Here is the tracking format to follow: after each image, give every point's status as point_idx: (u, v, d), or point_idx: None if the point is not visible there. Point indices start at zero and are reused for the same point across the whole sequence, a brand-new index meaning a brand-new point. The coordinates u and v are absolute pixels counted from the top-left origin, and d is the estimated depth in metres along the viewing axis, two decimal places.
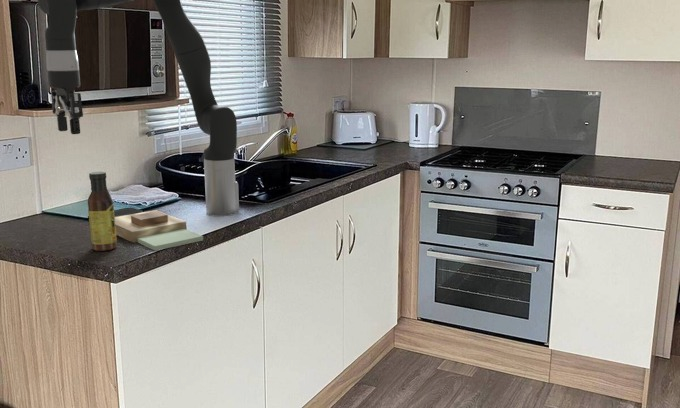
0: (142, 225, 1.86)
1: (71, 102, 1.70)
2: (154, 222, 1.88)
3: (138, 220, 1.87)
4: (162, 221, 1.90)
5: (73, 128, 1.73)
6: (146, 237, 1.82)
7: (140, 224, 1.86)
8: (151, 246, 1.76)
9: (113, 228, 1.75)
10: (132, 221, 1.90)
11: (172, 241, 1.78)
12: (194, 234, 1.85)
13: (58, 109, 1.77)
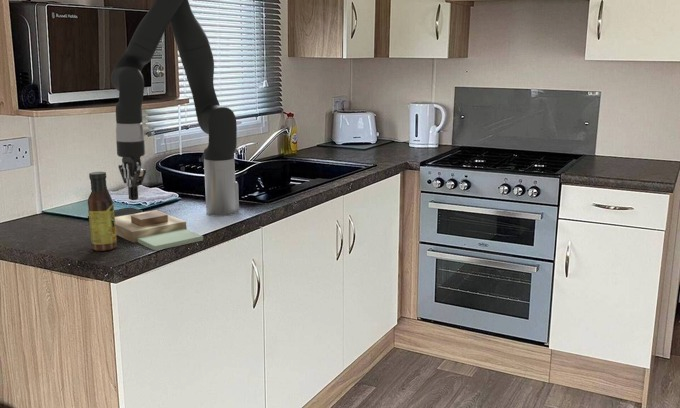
0: (142, 225, 1.86)
1: (135, 176, 1.90)
2: (154, 222, 1.88)
3: (138, 220, 1.87)
4: (162, 221, 1.90)
5: (132, 195, 1.94)
6: (146, 237, 1.82)
7: (140, 224, 1.86)
8: (151, 246, 1.76)
9: (113, 228, 1.75)
10: (132, 221, 1.90)
11: (172, 241, 1.78)
12: (194, 234, 1.85)
13: None
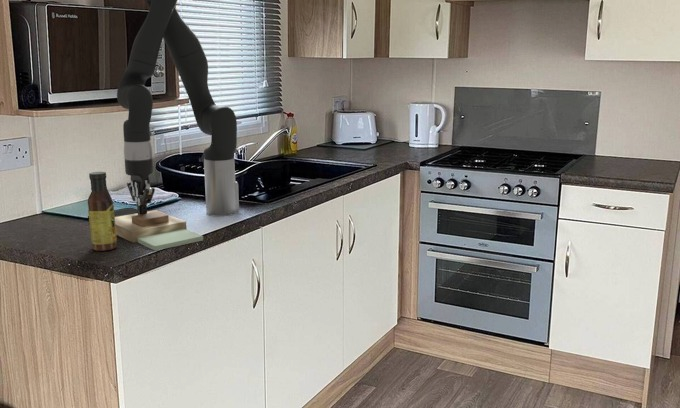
0: (143, 225, 1.86)
1: (144, 195, 1.88)
2: (155, 222, 1.88)
3: (139, 220, 1.86)
4: (163, 221, 1.90)
5: (141, 213, 1.92)
6: (146, 237, 1.82)
7: (141, 224, 1.86)
8: (151, 246, 1.76)
9: (113, 228, 1.75)
10: (133, 221, 1.89)
11: (172, 241, 1.78)
12: (194, 234, 1.85)
13: None
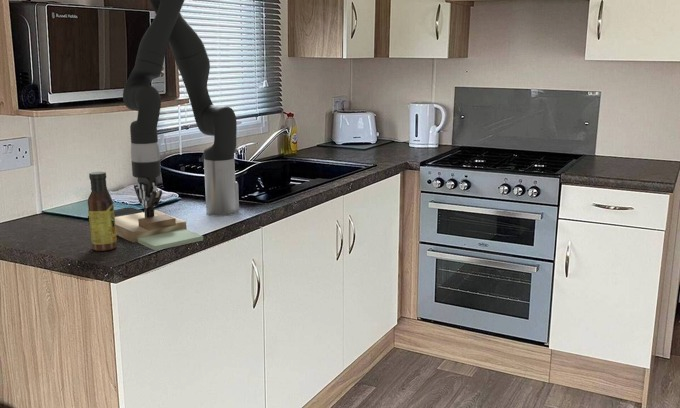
0: (149, 229, 1.83)
1: (152, 197, 1.84)
2: (162, 225, 1.85)
3: (145, 223, 1.83)
4: (170, 224, 1.86)
5: (148, 216, 1.89)
6: (146, 237, 1.82)
7: (147, 228, 1.83)
8: (151, 246, 1.76)
9: (113, 228, 1.75)
10: (139, 224, 1.86)
11: (172, 241, 1.78)
12: (194, 234, 1.85)
13: None
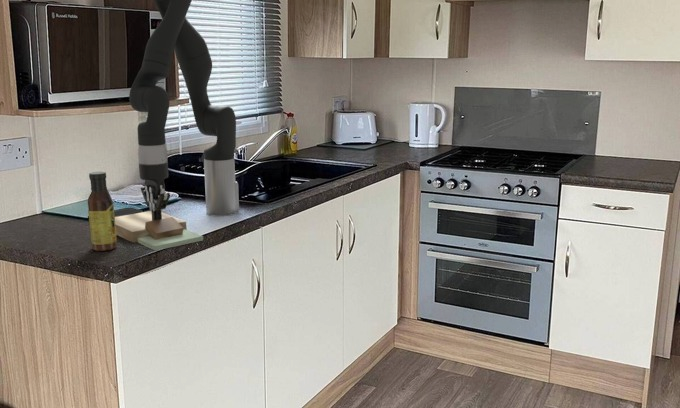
0: (156, 238, 1.80)
1: (159, 200, 1.81)
2: (169, 235, 1.83)
3: (153, 232, 1.80)
4: (177, 234, 1.84)
5: (156, 219, 1.86)
6: (146, 237, 1.82)
7: (154, 236, 1.80)
8: (151, 246, 1.76)
9: (113, 228, 1.75)
10: (146, 228, 1.83)
11: (172, 241, 1.78)
12: (194, 234, 1.85)
13: None
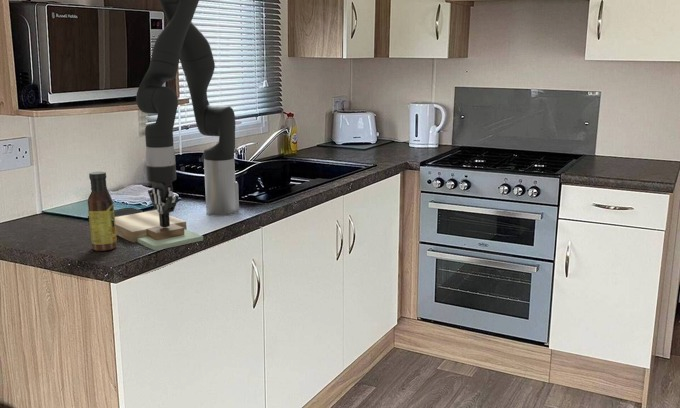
0: (158, 239, 1.80)
1: (167, 203, 1.78)
2: (170, 235, 1.82)
3: (154, 233, 1.80)
4: (178, 234, 1.84)
5: (164, 222, 1.83)
6: (146, 237, 1.82)
7: (156, 238, 1.80)
8: (151, 246, 1.76)
9: (113, 228, 1.75)
10: (147, 234, 1.83)
11: (172, 241, 1.78)
12: (194, 234, 1.85)
13: None
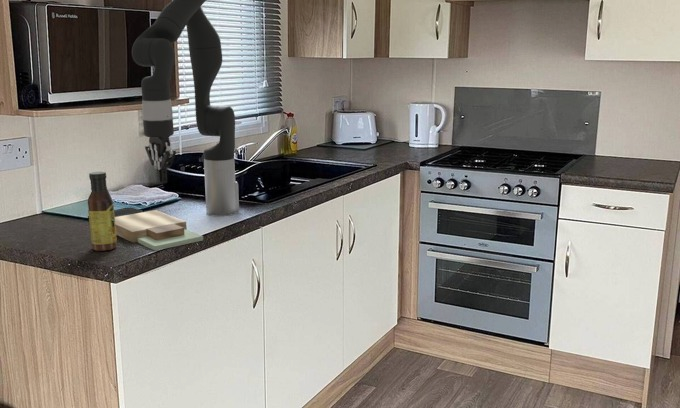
0: (158, 239, 1.80)
1: (165, 158, 1.75)
2: (170, 235, 1.82)
3: (154, 233, 1.80)
4: (178, 234, 1.84)
5: (161, 178, 1.80)
6: (146, 237, 1.82)
7: (156, 238, 1.80)
8: (151, 246, 1.76)
9: (113, 228, 1.75)
10: (147, 234, 1.83)
11: (172, 241, 1.78)
12: (194, 234, 1.85)
13: None
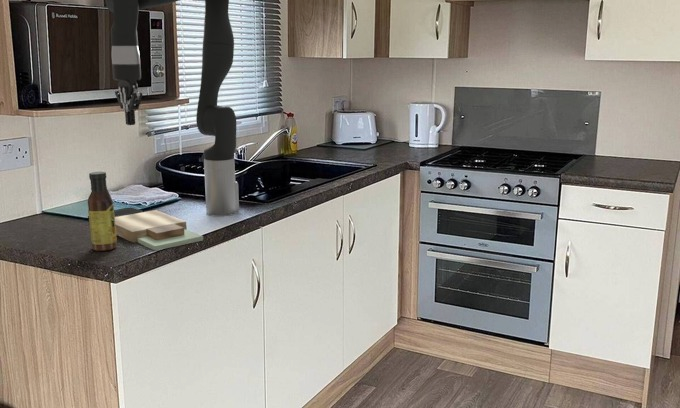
0: (158, 239, 1.80)
1: (132, 99, 1.89)
2: (170, 235, 1.82)
3: (154, 233, 1.80)
4: (178, 234, 1.84)
5: (129, 119, 1.93)
6: (146, 237, 1.82)
7: (156, 238, 1.80)
8: (151, 246, 1.76)
9: (113, 228, 1.75)
10: (147, 234, 1.83)
11: (172, 241, 1.78)
12: (194, 234, 1.85)
13: None
